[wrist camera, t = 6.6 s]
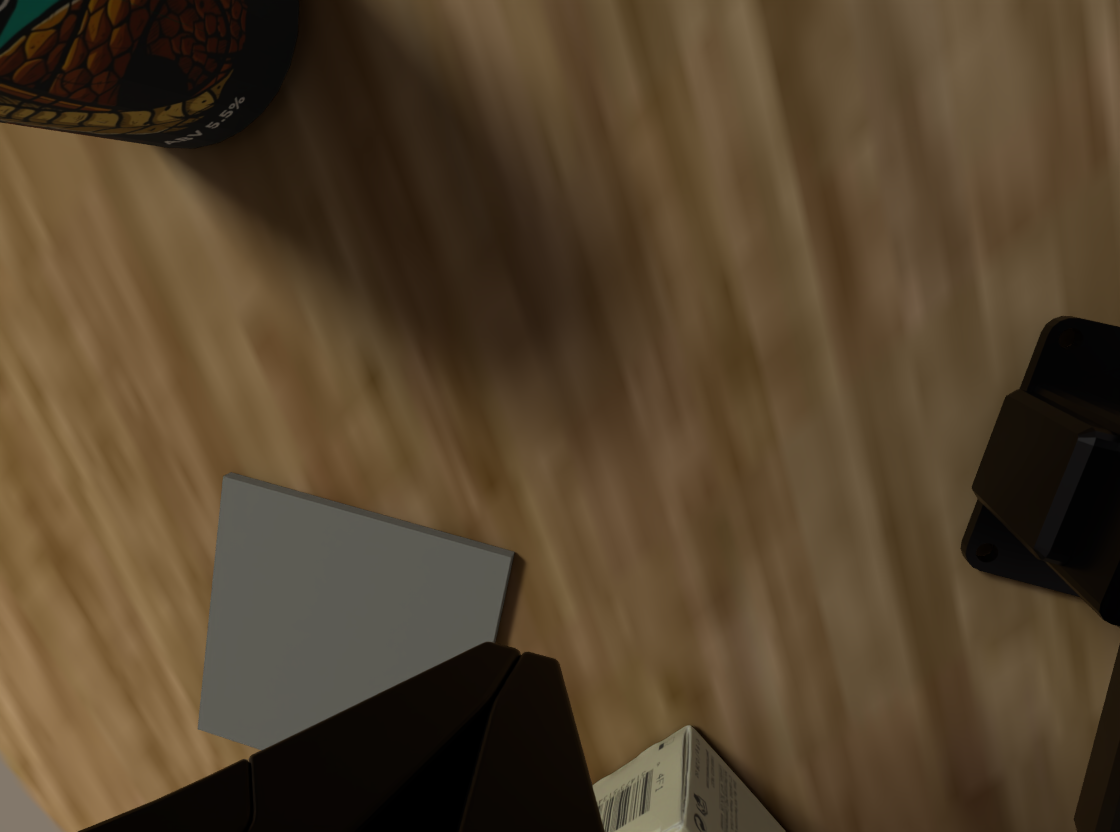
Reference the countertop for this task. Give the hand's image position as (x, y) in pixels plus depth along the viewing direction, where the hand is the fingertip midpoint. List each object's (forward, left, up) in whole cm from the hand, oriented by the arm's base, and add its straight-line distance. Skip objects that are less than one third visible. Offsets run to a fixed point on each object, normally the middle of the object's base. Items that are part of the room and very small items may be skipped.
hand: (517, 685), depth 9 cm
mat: (+7, +9, -13) cm, 17 cm away
